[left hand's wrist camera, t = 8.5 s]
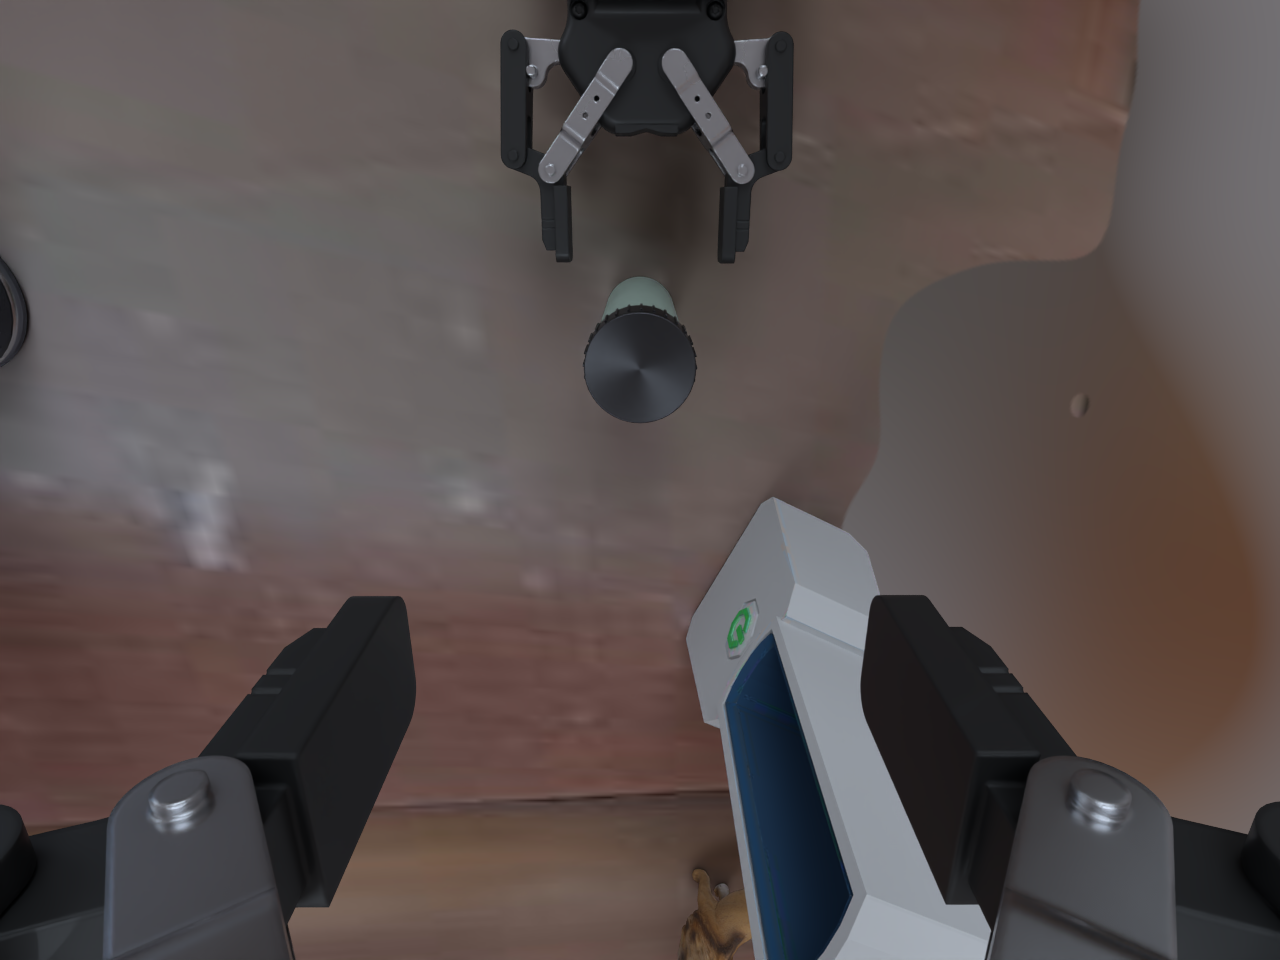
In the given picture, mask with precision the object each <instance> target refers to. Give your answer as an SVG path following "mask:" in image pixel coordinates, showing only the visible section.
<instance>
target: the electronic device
mask: <svg viewBox="0 0 1280 960" xmlns="http://www.w3.org/2000/svg"><path fill="white" fill-rule="evenodd" d="M876 595H880V593H879V589H878V586H877V582H876V579H875V576H874V572H873V569H872V565H871V562H870V559H869V555H868V552H867V551H866V550H865V549H864V548H863V547H862V546H861V545H860V544H859V543H858V542H857V541H856V540H855V539H854V538H853V537H852V536H851V535H850V533H848V532H846V531H844V530H842V529H840V528H837V527H835V526H833V525H831V524H829V523H827V522H825V521H823V520H821V519H819V518H817V517H814V516H812V515H810V514H808V513H806V512H804V511H802V510H800V509H798V508H796V507H794V506H791V505H789V504H787V503H785V502H783V501H781V500H779V499H777V498H775V497H771V498H770V499H768V500H766V501H765V502H763V503H761V505H760V506H759V508H758V510H757V511H756V513H755V515H754V516H753V518H752V520H751V521H750V523H749V525H748V526H747V528H746V529H745V531H744V533H743V534H742V536H741V538H740V539H739V541H738V543H737V544H736V546H735V548H734V549H733V551H732V553H731V554H730V556H729V557H728V559H727V561H726V562H725V564H724V566H723V567H722V569H721V571H720V572H719V574H718V576H717V577H716V579H715V581H714V582H713V584H712V585H711V587H710V589H709V590H708V592H707V594H706V595H705V597H704V599H703V600H702V602H701V604H700V605H699V607H698V609H697V610H696V612H695V613H694V615H693V617H692V620H691V623H690V627H689V630H688V634H687V637H686V641H687V646H688V651H689V655H690V660H691V664H692V669H693V673H694V678H695V683H696V687H697V692H698V696H699V701H700V705H701V710H702V715H703V719H704V722H705V723H707V724H710V725H712V726H715V727H717V728H720V731H721V737H722V744H723V751H724V757H725V764H726V770H727V777H728V784H729V790H730V797H731V804H732V810H733V817H734V823H735V830H736V837H737V843H738V850H739V856H740V863H741V870H742V876H743V883H744V889H745V896H746V903H747V909H748V916H749V922H750V929H751V936H752V942H753V949H754V955H755V960H984V958H985V954H986V949H987V945H988V940H989V936H990V932H991V929H990V927H989V925H988V923H987V921H986V919H985V917H984V915H983V913H982V911H981V908H980V906H979V905H946V904H945V902H944V900H943V897H942V895H941V893H940V890H939V888H938V886H937V884H936V881H935V879H934V877H933V874H932V872H931V870H930V867H929V865H928V863H927V860H926V858H925V856H924V854H923V851H922V849H921V847H920V844H919V842H918V840H917V837H916V835H915V833H914V830H913V828H912V826H911V824H910V821H909V819H908V817H907V814H906V812H905V810H904V807H903V805H902V803H901V800H900V798H899V796H898V794H897V791H896V789H895V787H894V784H893V782H892V780H891V777H890V775H889V773H888V770H887V768H886V766H885V764H884V761H883V759H882V757H881V754H880V752H879V750H878V747H877V745H876V743H875V740H874V738H873V736H872V734H871V731H870V729H869V727H868V724H867V722H866V719H865V716H864V713H863V709H862V703H861V693H860V681H861V672H862V664H863V656H864V648H865V641H866V633H867V625H868V617H869V610H870V605H871V602H872V599H873V598H874V597H875V596H876Z"/></svg>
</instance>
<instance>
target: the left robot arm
mask: <svg viewBox="0 0 1280 960" xmlns="http://www.w3.org/2000/svg"><path fill="white" fill-rule="evenodd" d="M26 329H27V312H26V306H25V301H24V298H23V295H22V292H21V290H20V287H19V285H18V283H17V281H16V279H15V277H14V276H13V274H12V272H11V271H10V269H9V268H8V267H7V265H6V264H5V263H4V261H3V260H2V259H1V258H0V367H1V366H3V365H5V364H6V363H8V362H9V361H10V360H11V359H12V358H13V357H14V356H15V355H16V354H17V352H18V351H19V349H20V348H21V346H22V344H23V341H24V338H25V334H26ZM860 693H861V703H862V709H863V713H864V716H865V719H866V722H867V724H868V727H869V729H870V731H871V734H872V736H873V738H874V740H875V743H876V745H877V747H878V750H879V752H880V754H881V757H882V759H883V761H884V764H885V766H886V768H887V770H888V773H889V775H890V777H891V780H892V782H893V784H894V787H895V789H896V791H897V794H898V796H899V798H900V800H901V803H902V805H903V807H904V810H905V812H906V814H907V817H908V819H909V821H910V824H911V826H912V828H913V830H914V833H915V835H916V837H917V840H918V842H919V844H920V847H921V849H922V851H923V854H924V856H925V858H926V860H927V863H928V865H929V867H930V870H931V872H932V874H933V877H934V879H935V881H936V884H937V886H938V888H939V890H940V893H941V895H942V897H943V900H944V902H945V904H946V905H979V906H980V908H981V911H982V913H983V915H984V917H985V919H986V921H987V923H988V925H989V927H990V929H991V932H990V936H989V940H988V945H987V949H986V954H985V958H984V960H1280V802H1273V803H1270V804H1266V805H1265V806H1263V807H1261V808H1260V809H1259V810H1258V812H1257V813H1256V815H1255V818H1254V821H1253V823H1252V826H1251V828H1250V831H1249V833H1248V834H1243V833H1239V832H1235V831H1230V830H1226V829H1222V828H1217V827H1213V826H1209V825H1204V824H1200V823H1196V822H1191V821H1187V820H1183V819H1178V818H1174V817H1171V816H1170V814H1169V812H1168V810H1167V809H1166V807H1165V806H1164V804H1163V803H1162V802H1161V801H1160V800H1159V798H1158V797H1157V796H1156V795H1155V794H1154V793H1153V792H1152V791H1151V790H1149V789H1148V788H1147V787H1146V786H1145V785H1143V784H1142V783H1140V782H1139V781H1137V780H1136V779H1135V778H1133V777H1131V776H1130V775H1128V774H1126V773H1125V772H1122V771H1120V770H1118V769H1116V768H1114V767H1112V766H1109V765H1107V764H1104V763H1102V762H1098V761H1095V760H1092V759H1088V758H1082V757H1077V756H1076V754H1075V753H1074V752H1073V751H1072V749H1071V748H1070V747H1069V746H1068V744H1067V743H1066V742H1065V740H1064V739H1063V738H1062V737H1061V735H1060V734H1059V733H1058V732H1057V730H1056V729H1055V728H1054V726H1053V725H1052V724H1051V723H1050V721H1049V720H1048V719H1047V717H1046V716H1045V715H1044V714H1043V712H1042V711H1041V710H1040V709H1039V707H1038V706H1037V705H1036V703H1035V702H1034V701H1033V700H1032V698H1031V697H1030V696H1029V695H1028V693H1024V692H1023V687H1022V686H1021V684H1020V683H1019V682H1018V681H1017V679H1016V678H1015V677H1014V675H1013V674H1012V673H1009V672H1008V668H1007V667H1006V665H1005V664H1004V663H1003V661H1002V660H1001V659H1000V658H999V656H998V655H997V654H996V652H995V651H994V650H993V649H992V647H991V646H989V645H988V644H986V643H985V642H983V641H982V640H981V639H979V638H978V637H976V636H975V635H973V634H972V633H970V632H969V631H967V630H966V629H964V628H963V627H949V626H948V625H947V623H946V622H945V621H944V619H943V618H942V617H941V615H940V614H939V612H938V611H937V610H936V608H935V607H934V605H933V604H932V603H931V601H930V600H929V599H928V598H927V597H926V596H924V595H876V596H875V597H874V598H873V599H872V602H871V605H870V610H869V617H868V625H867V633H866V641H865V648H864V656H863V664H862V672H861V681H860ZM415 698H416V679H415V671H414V663H413V655H412V648H411V640H410V633H409V625H408V617H407V610H406V606H405V603H404V600H403V599H402V598H401V597H399V596H352V597H350V598H349V599H348V600H347V601H346V602H345V603H344V605H343V606H342V608H341V609H340V610H339V612H338V613H337V614H336V616H335V617H334V619H333V620H332V621H331V623H330V624H329V625H328V627H327V628H313V629H312V630H310V631H309V632H307V633H306V634H304V635H303V636H301V637H300V638H298V639H297V640H295V641H294V642H292V643H291V644H289V645H288V646H286V647H285V648H284V649H283V650H282V652H281V653H280V654H279V655H278V657H277V658H276V659H275V661H274V662H273V663H272V664H271V666H270V667H269V668H268V669H267V674H266V675H263V676H262V677H261V678H260V679H259V681H258V682H257V683H256V685H255V686H254V687H253V688H252V693H251V694H248V695H247V696H246V697H245V698H244V700H243V701H242V702H241V703H240V705H239V706H238V707H237V708H236V710H235V711H234V712H233V714H232V715H231V716H230V717H229V719H228V720H227V721H226V722H225V724H224V725H223V726H222V727H221V729H220V730H219V731H218V732H217V734H216V735H215V736H214V738H213V739H212V740H211V741H210V743H209V744H208V745H207V746H206V748H205V749H204V750H203V751H202V753H201V754H200V755H199V756H198V757H197V758H192V759H188V760H185V761H182V762H178V763H176V764H173V765H171V766H168V767H166V768H164V769H162V770H160V771H158V772H155V773H154V774H152V775H150V776H149V777H147V778H145V779H144V780H142V781H141V782H140V783H138V784H137V785H135V786H134V787H133V788H132V789H131V790H129V791H128V792H127V793H126V794H125V795H124V796H123V797H122V798H121V799H120V801H119V802H118V803H117V804H116V806H115V807H114V809H113V810H112V812H111V814H110V817H108V818H104V819H100V820H97V821H93V822H88V823H84V824H80V825H75V826H71V827H67V828H62V829H58V830H54V831H49V832H45V833H41V834H36V835H32V836H28V833H27V831H26V828H25V825H24V823H23V820H22V818H21V816H20V814H19V813H18V812H17V811H16V810H15V809H13V808H11V807H9V806H5V805H0V960H296V958H295V954H294V949H293V945H292V940H291V936H290V932H289V928H288V922H289V920H290V918H291V915H292V913H293V911H294V909H295V907H329V906H330V904H331V901H332V899H333V897H334V895H335V892H336V890H337V888H338V885H339V883H340V881H341V879H342V876H343V874H344V872H345V869H346V867H347V865H348V863H349V860H350V858H351V856H352V854H353V851H354V849H355V847H356V844H357V842H358V840H359V838H360V835H361V833H362V831H363V829H364V826H365V824H366V822H367V819H368V817H369V815H370V813H371V810H372V808H373V806H374V804H375V801H376V799H377V797H378V794H379V792H380V790H381V788H382V785H383V783H384V781H385V778H386V776H387V774H388V772H389V769H390V767H391V765H392V763H393V760H394V758H395V756H396V753H397V751H398V749H399V747H400V744H401V742H402V740H403V738H404V735H405V733H406V731H407V728H408V726H409V724H410V721H411V719H412V715H413V711H414V706H415Z"/></svg>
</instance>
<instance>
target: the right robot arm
mask: <svg viewBox="0 0 1280 960" xmlns="http://www.w3.org/2000/svg"><path fill="white" fill-rule="evenodd" d="M567 5H568V16H567V23H566V27H565V30H564V32H563V35H562V37H561V39H560V40H554V39H540V38H527V37H524V36H523V34H522V33H521V32H519V31H517V30H508V31H506V32H505V33H504V34H503V36H502V38H501V158H502V161H503V163H504V164H505V165H506V166H507V167H508V168H511V169H514V170H516V171H519V172H522V173H524V174H527V175H529V176H531V177H533V178H534V179H535V180H536V181H537V182H538V184H539V187H540V193H541V217H542V240H543V242H544V245H545V247H546V250H556V261H557V262H571V261H572V258H573V247H572V212H571V186H567V182H566V177H567V176H568V174H569V173H570V171H571V170H572V168H573V167H574V165H575V164H576V162H577V161H578V159H579V158H580V156H581V155H582V153H583V152H584V151H585V150H586V149H587V147H588V146H589V145H590V143H591V142H592V140H593V139H594V137H595V136H596V134H597V133H598V131H599V130H600V128H601V127H603V128H604V129H605V130H606V131H608V132H610V133H612V134H615V135H616V136H633V135H637V134H640V133H644V132H649V133H652V134H655V135H659V136H677V135H678V134H681V133H683V132H685V131H687V130H688V129H689V128H690V127H691V128H692V130H693V131H694V133H695V134H696V136H697V137H698V139H699V140H700V142H701V143H702V145H703V146H704V148H705V149H706V150H707V151H708V152H709V154H710V155H711V157H712V158H713V160H714V161H715V163H716V164H717V166H718V167H719V169H720V170H721V172H722V173H723V175H724V176H725V185H724V187H721V188H720V204H719V229H718V262H719V263H734V261H735V252H744V250H745V248H746V246H747V244H748V240H749V220H750V202H751V190H752V187H753V185H754V183H755V182H756V181H757V180H758V179H759V178H761V177H764V176H766V175H769V174H772V173H774V172H777V171H780V170H784V169H785V168H787V167H788V166H789V164H790V163H791V160H792V120H793V52H794V44H793V39H792V37H791V36H790V35H789V34H788V33H786V32H782V31H781V32H777V33H775V34H774V35H773V36H772V37H770V38H766V39H751V40H736V41H734V39H733V37H732V35H731V33H730V30H729V27H728V22H727V0H567ZM555 65H561V67H562V69H563V70H564V72H565V74H566V75H567V77H568V78H569V80H570V81H571V83H572V84H573V86H574V87H575V89H576V90H577V91H578V93H579V94H580V96H581V99H580V100H579V102H578V103H577V105H576V106H575V108H574V109H573V111H572V112H571V114H570V115H569V117H568V118H567V120H566V121H565V123H564V125H563V127H562V129H561V131H560V133H559V135H558V136H557V138H556V139H555V141H554V142H553V144H552V145H551V147H550V148H549V150H548V151H547V153H546V154H543V153H541V152H538V151H536V150H533V149H532V130H533V89H540V88H542V87H543V86H544V85H545V83H546V81H547V76H548V72H549V70H550V69H551V68H552V67H553V66H555ZM733 65H736V66H739V67H740V68H742V69H743V71H744V73H745V75H746V81H747V84H748V85H749V87H751V88H752V89H754V90H760V151H758V152H755V153H752V154H750V155H747V153H746V152H745V150H744V149H743V147H742V146H741V144H740V143H739V141H738V139H737V138H736V136H735V135H734V133H733V130H732V128H731V126H730V124H729V123H728V121H727V119H726V118H725V116H724V115H723V113H722V112H721V110H720V109H719V107H718V105H717V104H716V102H715V101H714V99H713V98H712V97H713V95H714V94H715V92H716V91H717V89H718V88H719V86H720V85H721V83H722V82H723V81H724V79H725V78H726V76H727V75H728V73H729V72H730V70H731V69H732V67H733Z"/></svg>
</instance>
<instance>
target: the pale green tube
mask: <svg viewBox="0 0 1280 960" xmlns="http://www.w3.org/2000/svg"><path fill="white" fill-rule="evenodd" d="M640 303H643V305H647V306H652V305H655V307H656V308H659V309H661V310H663V311H664V309H665V310H667V313H669V314H670V315H672V316H673V317H674V316H676V317H677V314H676V311H675V308H674V305H673V301H672V298H671V296H670V294H669V293H668V291H667V290H666V288H665V287H664V286H663V285H662V284H660V283H659V282H657V281H656V280H654V279H651V278H647V277H633V278H629V279H626V280H624V281H623V282H621V283H620V284H618V285H617V286H616V287H615V288H614V290H613V291H612V293H611V294H610V296H609V298H608V301H607V304H606V308H605V311H604V314H603V317H602V320H601V322H602V321H603V320H604V319H605V316H606V315H607V314H608V316H609V315H610V314H611V313H613V312H615V311H616V309H617V308H618V309H621V308H624V307H628V305H629V304H630V306H633V305H640ZM677 320H678V317H677ZM678 322H679V320H678Z"/></svg>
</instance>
